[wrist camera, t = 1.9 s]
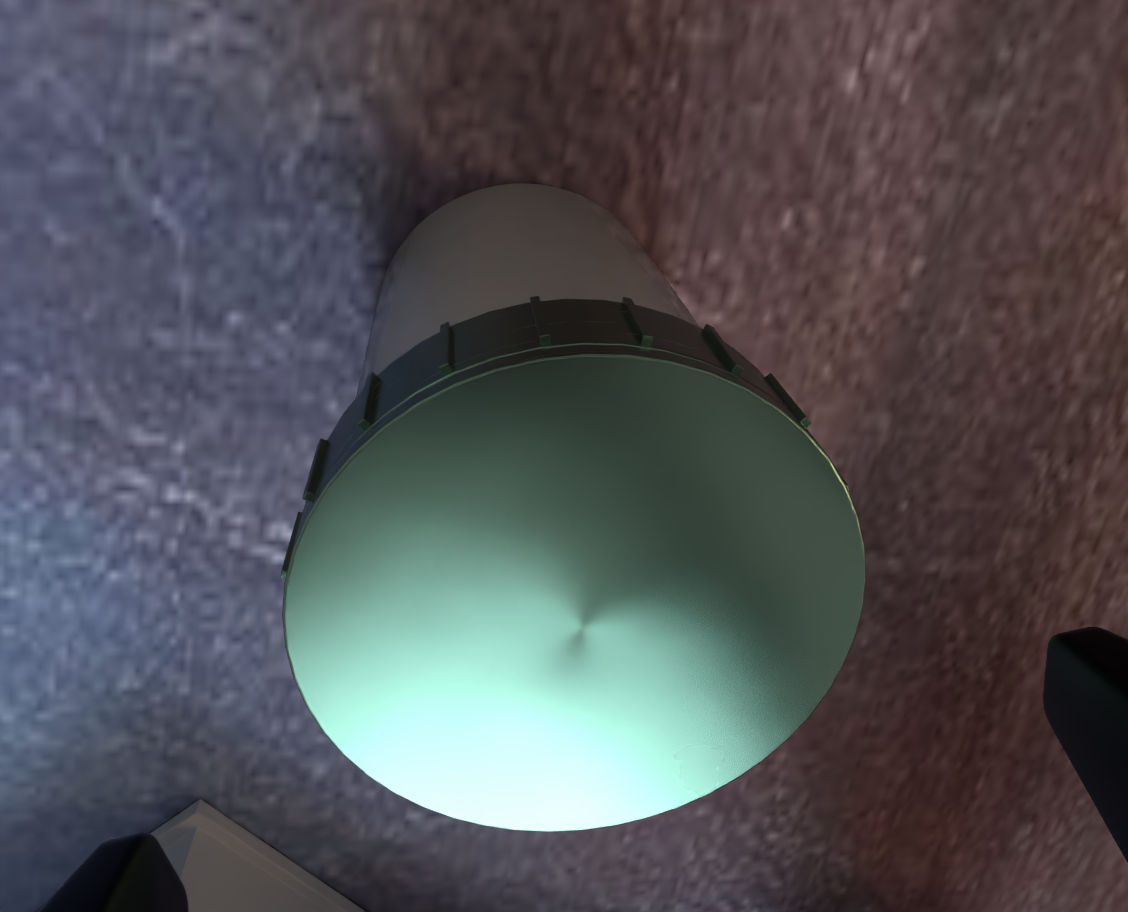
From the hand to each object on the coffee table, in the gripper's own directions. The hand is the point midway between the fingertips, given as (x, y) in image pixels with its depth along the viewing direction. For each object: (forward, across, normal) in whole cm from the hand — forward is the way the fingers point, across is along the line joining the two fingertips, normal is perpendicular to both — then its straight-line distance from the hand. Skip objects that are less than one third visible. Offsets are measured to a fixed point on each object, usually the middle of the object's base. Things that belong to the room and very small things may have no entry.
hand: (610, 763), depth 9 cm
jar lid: (+2, 0, 0) cm, 2 cm away
